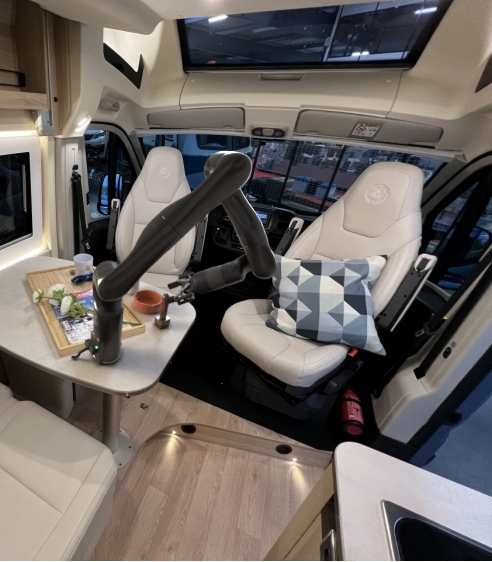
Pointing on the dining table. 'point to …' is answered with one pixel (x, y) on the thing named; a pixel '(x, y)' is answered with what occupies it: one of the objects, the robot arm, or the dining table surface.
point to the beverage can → (134, 288)
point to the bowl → (147, 301)
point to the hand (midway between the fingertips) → (167, 294)
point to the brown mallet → (163, 314)
